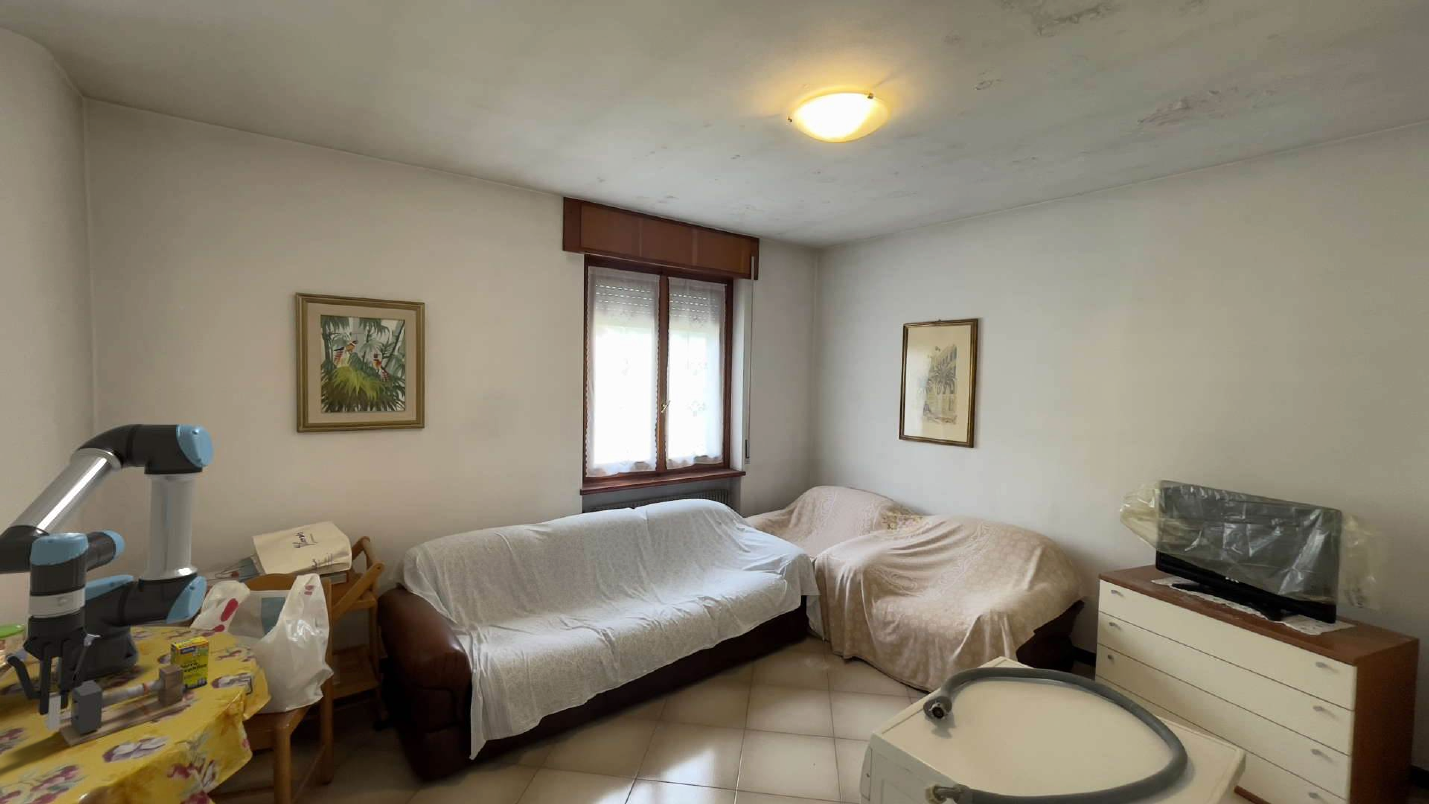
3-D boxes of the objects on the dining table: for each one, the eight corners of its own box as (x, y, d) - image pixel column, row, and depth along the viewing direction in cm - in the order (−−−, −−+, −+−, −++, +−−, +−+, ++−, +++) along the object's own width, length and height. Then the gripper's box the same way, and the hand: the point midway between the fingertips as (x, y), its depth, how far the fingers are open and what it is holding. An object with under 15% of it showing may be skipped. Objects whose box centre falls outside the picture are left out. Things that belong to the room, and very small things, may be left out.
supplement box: (176, 694, 137) (178, 649, 137) (168, 686, 140) (170, 643, 141) (208, 684, 142) (209, 641, 142) (199, 677, 146) (201, 635, 146)
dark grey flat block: (80, 734, 118) (81, 696, 118) (70, 722, 122) (72, 685, 122) (101, 727, 120) (102, 690, 120) (91, 716, 124) (92, 679, 124)
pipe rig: (70, 746, 116) (72, 705, 116) (58, 730, 121) (60, 691, 121) (185, 708, 131) (187, 672, 131) (171, 695, 136) (172, 660, 136)
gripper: (9, 625, 107) (4, 749, 107) (108, 606, 118) (103, 718, 118) (2, 616, 111) (-3, 736, 111) (98, 598, 122) (94, 707, 122)
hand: (52, 727), depth 114 cm, fingers closed
